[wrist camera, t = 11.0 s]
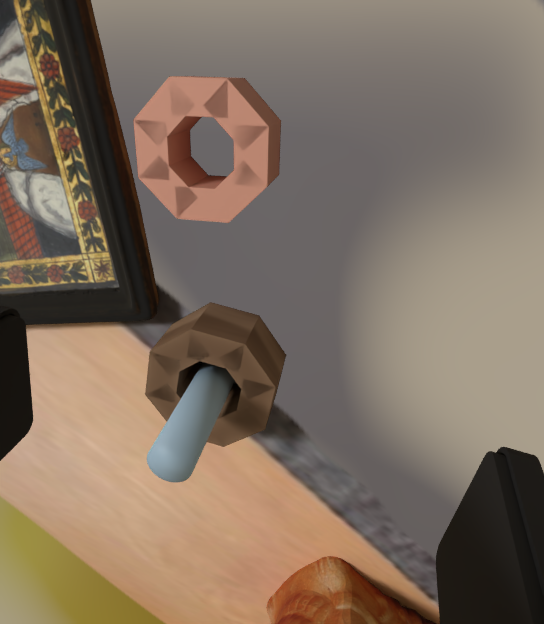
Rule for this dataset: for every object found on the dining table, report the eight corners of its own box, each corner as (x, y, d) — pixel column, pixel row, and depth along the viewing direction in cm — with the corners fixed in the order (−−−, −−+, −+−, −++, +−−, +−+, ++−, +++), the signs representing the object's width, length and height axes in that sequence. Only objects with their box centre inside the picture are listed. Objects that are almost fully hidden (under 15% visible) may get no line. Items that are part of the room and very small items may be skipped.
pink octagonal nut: (282, 79, 30) (269, 79, 27) (277, 210, 34) (266, 225, 30) (157, 75, 31) (129, 75, 28) (165, 201, 35) (141, 215, 31)
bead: (293, 325, 37) (283, 354, 33) (269, 420, 41) (258, 456, 37) (176, 293, 38) (153, 318, 34) (164, 389, 42) (142, 422, 38)
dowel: (245, 349, 39) (195, 452, 28) (239, 378, 40) (189, 487, 29) (211, 340, 39) (148, 438, 28) (206, 369, 40) (145, 474, 30)
